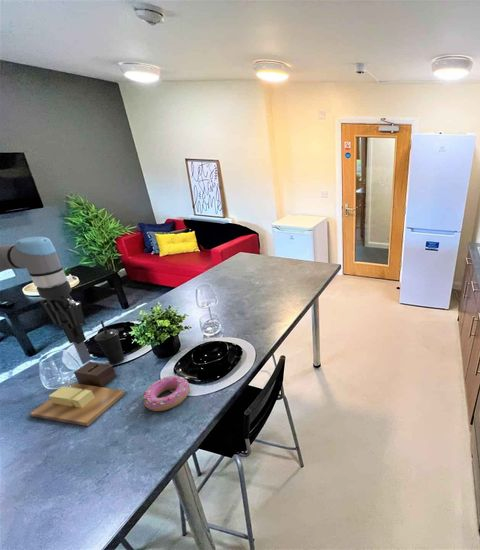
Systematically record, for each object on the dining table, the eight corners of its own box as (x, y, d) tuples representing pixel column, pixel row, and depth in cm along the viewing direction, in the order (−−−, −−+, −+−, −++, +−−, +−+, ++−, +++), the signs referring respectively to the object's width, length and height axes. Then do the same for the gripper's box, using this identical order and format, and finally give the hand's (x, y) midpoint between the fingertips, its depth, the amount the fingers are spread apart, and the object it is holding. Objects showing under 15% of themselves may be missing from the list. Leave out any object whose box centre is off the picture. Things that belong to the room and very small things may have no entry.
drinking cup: (128, 352, 129) (114, 314, 121) (127, 362, 124) (113, 323, 115) (106, 358, 125) (90, 319, 117) (104, 369, 120) (87, 329, 111)
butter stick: (52, 403, 102) (48, 395, 100) (66, 393, 106) (62, 385, 104) (72, 406, 101) (68, 399, 99) (85, 396, 105) (82, 389, 104)
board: (31, 416, 98) (29, 413, 98) (74, 385, 111) (72, 382, 111) (87, 426, 96) (86, 422, 95) (125, 393, 109) (124, 390, 108)
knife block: (79, 384, 112) (73, 372, 109) (94, 373, 117) (89, 361, 115) (102, 387, 111) (96, 375, 108) (116, 376, 116) (111, 364, 114)
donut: (170, 379, 116) (167, 370, 114) (199, 388, 112) (196, 378, 110) (135, 407, 103) (130, 397, 101) (166, 418, 100) (163, 408, 98)
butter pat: (75, 407, 101) (71, 399, 99) (88, 396, 105) (85, 389, 103) (81, 408, 101) (78, 400, 99) (94, 397, 105) (91, 390, 103)
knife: (80, 363, 108) (61, 323, 100) (88, 358, 110) (71, 319, 103) (85, 364, 108) (67, 324, 100) (93, 359, 110) (76, 319, 103)
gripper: (84, 281, 98) (106, 337, 108) (44, 276, 100) (70, 332, 109) (60, 291, 91) (86, 350, 101) (18, 286, 93) (48, 345, 102)
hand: (78, 341), depth 105 cm, fingers closed on knife, 2 cm apart
